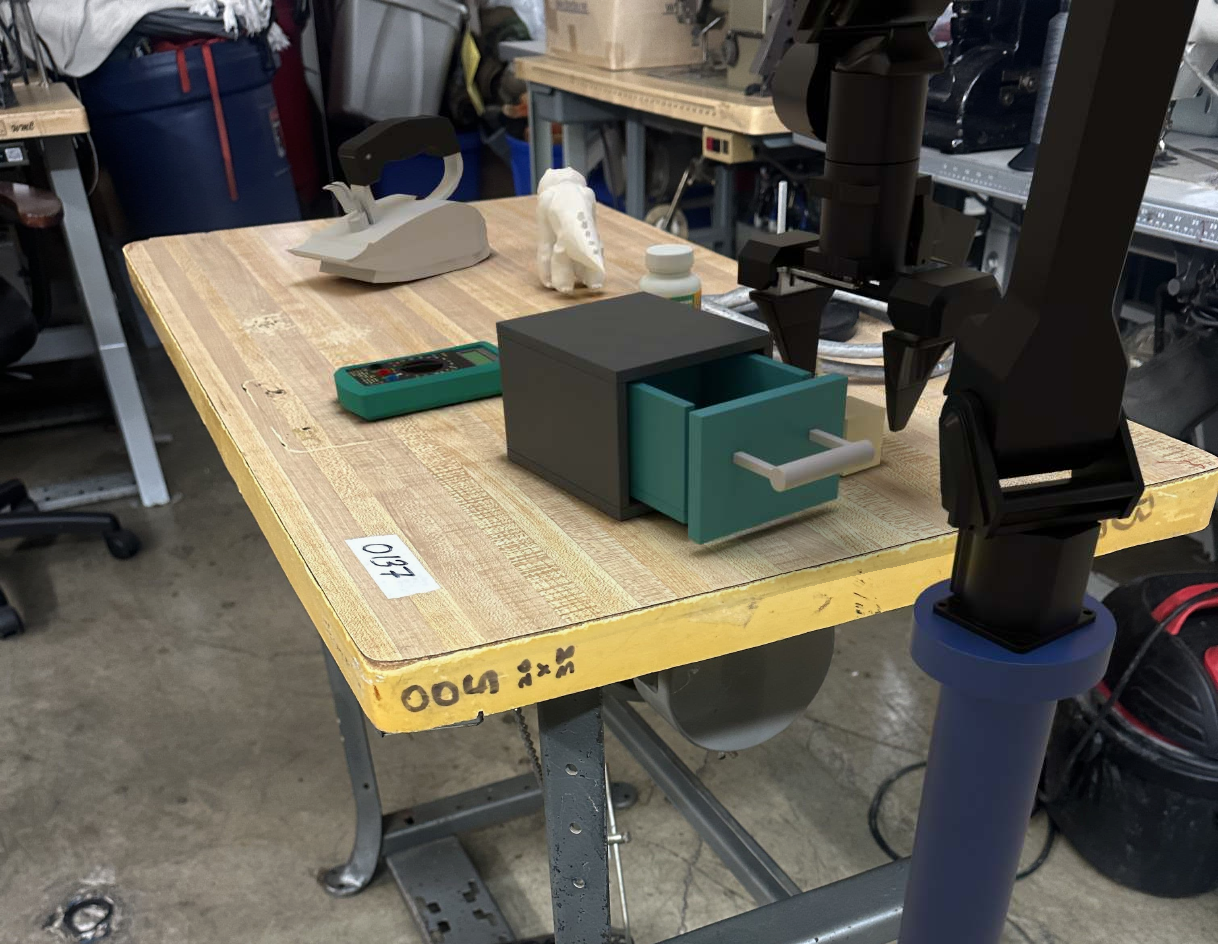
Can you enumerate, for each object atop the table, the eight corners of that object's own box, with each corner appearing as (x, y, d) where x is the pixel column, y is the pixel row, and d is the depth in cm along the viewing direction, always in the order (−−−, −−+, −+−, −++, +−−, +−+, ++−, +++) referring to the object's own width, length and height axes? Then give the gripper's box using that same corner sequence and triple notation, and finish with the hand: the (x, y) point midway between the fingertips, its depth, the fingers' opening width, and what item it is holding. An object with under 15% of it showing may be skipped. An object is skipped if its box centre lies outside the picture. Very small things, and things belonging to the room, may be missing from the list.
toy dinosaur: (581, 266, 133) (576, 156, 126) (640, 319, 115) (638, 193, 108) (523, 271, 132) (515, 161, 125) (573, 326, 113) (567, 199, 107)
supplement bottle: (669, 354, 105) (668, 238, 99) (713, 366, 102) (715, 247, 96) (626, 368, 102) (624, 250, 96) (671, 381, 99) (671, 259, 93)
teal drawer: (892, 522, 72) (908, 396, 68) (751, 573, 67) (757, 440, 63) (708, 441, 85) (711, 330, 80) (578, 479, 80) (572, 362, 75)
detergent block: (880, 464, 82) (886, 407, 80) (842, 476, 81) (848, 419, 78) (844, 450, 85) (849, 394, 82) (807, 461, 83) (811, 405, 81)
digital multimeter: (330, 401, 98) (324, 365, 96) (491, 369, 103) (488, 335, 101) (359, 426, 93) (352, 389, 91) (527, 392, 98) (524, 356, 96)
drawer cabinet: (767, 475, 81) (774, 332, 76) (620, 521, 76) (615, 371, 70) (645, 420, 91) (643, 290, 85) (507, 458, 86) (495, 321, 80)
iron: (291, 285, 130) (262, 132, 121) (449, 244, 145) (434, 104, 136) (353, 298, 125) (328, 139, 116) (511, 254, 139) (499, 109, 130)
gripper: (1084, 158, 68) (1034, 422, 78) (860, 128, 81) (840, 359, 90) (953, 183, 64) (916, 461, 73) (736, 147, 76) (729, 389, 85)
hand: (848, 412), depth 81 cm, fingers open, 9 cm apart
